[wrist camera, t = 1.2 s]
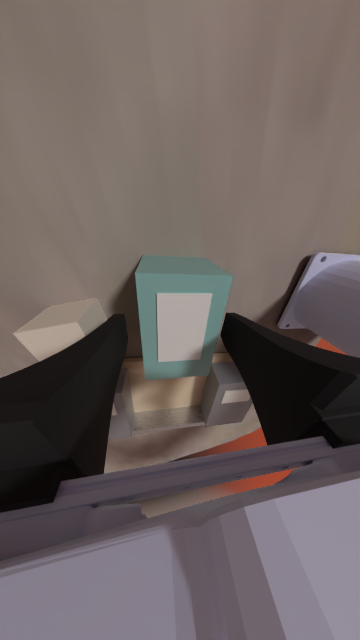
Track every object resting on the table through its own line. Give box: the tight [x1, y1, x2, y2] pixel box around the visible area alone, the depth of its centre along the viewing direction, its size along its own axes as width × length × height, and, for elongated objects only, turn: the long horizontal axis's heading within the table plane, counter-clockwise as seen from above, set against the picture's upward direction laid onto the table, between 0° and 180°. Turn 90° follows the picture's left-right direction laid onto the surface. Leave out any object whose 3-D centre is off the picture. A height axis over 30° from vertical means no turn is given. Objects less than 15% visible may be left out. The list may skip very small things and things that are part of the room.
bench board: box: [121, 353, 233, 412], centre depth 20 cm, size 22×12×1 cm, turn 86°
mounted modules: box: [108, 362, 253, 439], centre depth 19 cm, size 21×10×3 cm, turn 86°
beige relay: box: [13, 298, 107, 362], centre depth 13 cm, size 4×6×4 cm, turn 7°
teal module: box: [135, 255, 233, 380], centre depth 12 cm, size 5×8×6 cm, turn 176°
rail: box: [132, 405, 205, 435], centre depth 22 cm, size 21×1×2 cm, turn 86°
